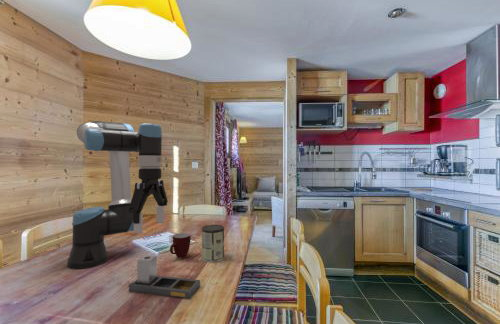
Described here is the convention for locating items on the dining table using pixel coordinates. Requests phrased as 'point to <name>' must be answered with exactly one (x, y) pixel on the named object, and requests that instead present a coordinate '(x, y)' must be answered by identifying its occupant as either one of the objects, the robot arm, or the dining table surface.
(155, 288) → the grey compartment tray
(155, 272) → the grey block with knob
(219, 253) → the coffee can
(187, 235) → the mug
